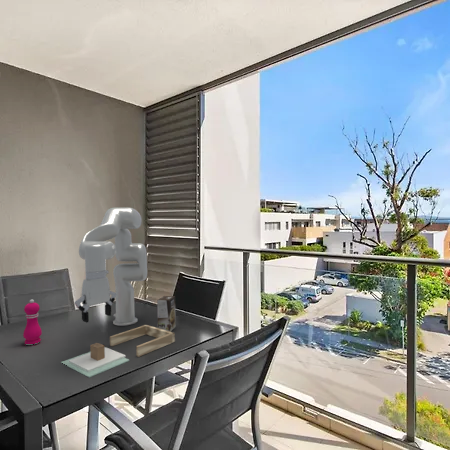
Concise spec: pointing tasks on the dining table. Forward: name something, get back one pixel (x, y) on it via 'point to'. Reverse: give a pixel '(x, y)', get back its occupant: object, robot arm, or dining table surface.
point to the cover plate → (95, 363)
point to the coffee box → (166, 313)
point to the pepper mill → (32, 323)
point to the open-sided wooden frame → (160, 341)
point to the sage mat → (97, 371)
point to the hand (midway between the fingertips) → (97, 318)
